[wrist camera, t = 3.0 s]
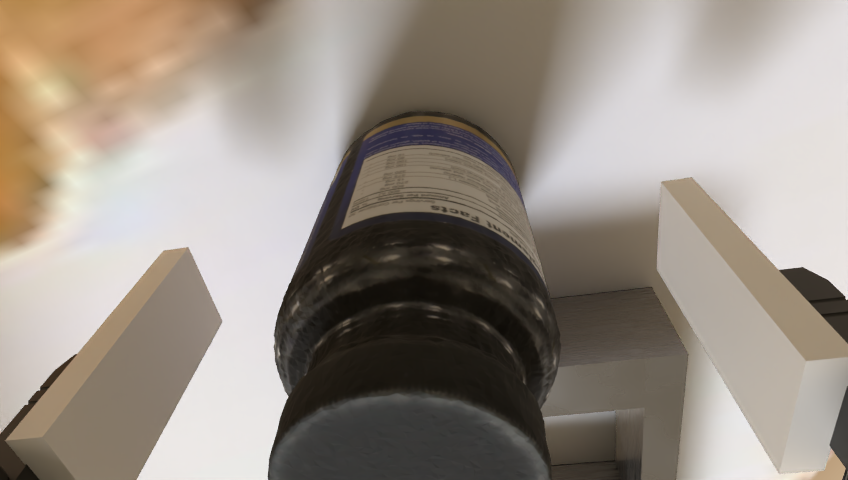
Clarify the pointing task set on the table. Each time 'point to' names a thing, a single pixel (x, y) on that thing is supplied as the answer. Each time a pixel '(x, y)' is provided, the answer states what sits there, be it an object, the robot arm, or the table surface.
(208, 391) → the table surface
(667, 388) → the rectangular frame
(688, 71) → the table surface
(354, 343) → the pill bottle
